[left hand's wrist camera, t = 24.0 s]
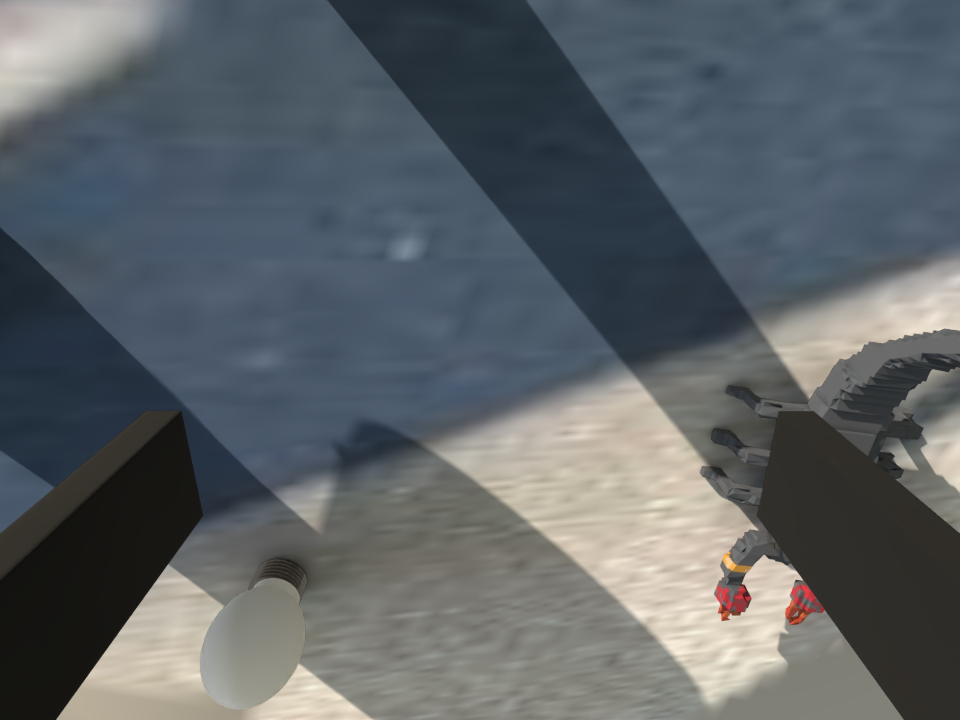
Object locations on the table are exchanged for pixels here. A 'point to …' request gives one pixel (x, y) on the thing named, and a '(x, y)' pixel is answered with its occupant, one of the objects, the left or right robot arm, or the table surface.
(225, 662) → the light bulb
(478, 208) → the table surface
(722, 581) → the toy
